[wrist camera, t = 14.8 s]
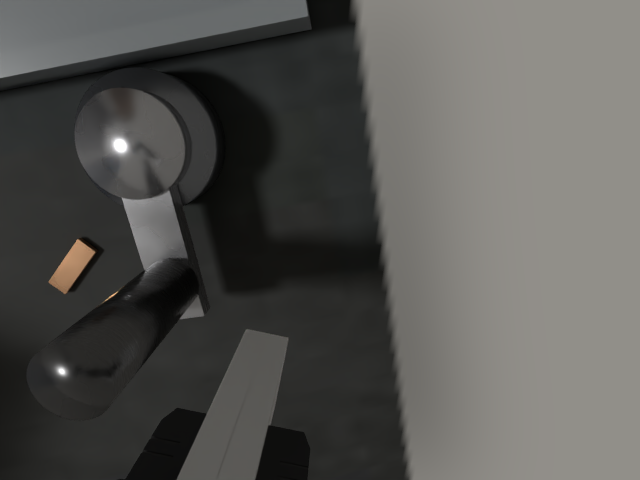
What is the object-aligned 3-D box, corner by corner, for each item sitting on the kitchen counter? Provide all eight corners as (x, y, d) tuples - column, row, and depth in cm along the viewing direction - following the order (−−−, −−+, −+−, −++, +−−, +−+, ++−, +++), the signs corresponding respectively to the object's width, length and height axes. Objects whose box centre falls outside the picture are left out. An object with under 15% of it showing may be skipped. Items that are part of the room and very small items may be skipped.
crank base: (-17, 104, 21) (-52, 102, 19) (207, 60, 20) (193, 54, 18) (57, 293, 24) (33, 308, 22) (254, 264, 23) (247, 277, 21)
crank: (76, 100, 19) (-150, 81, 10) (176, 80, 18) (32, 43, 10) (146, 316, 22) (21, 442, 13) (233, 303, 21) (162, 427, 13)
